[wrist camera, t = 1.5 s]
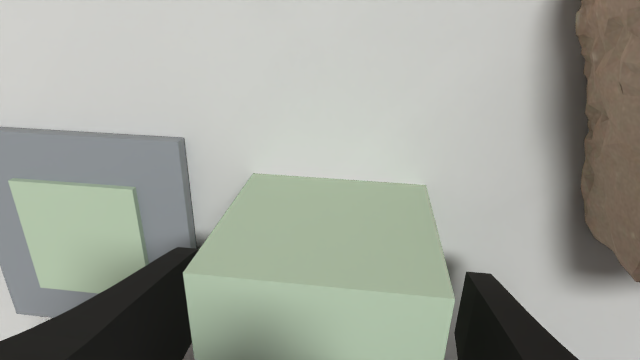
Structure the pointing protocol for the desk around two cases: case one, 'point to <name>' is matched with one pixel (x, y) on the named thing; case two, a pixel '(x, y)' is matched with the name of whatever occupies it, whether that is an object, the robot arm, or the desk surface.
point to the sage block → (321, 274)
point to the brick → (612, 125)
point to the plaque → (86, 212)
